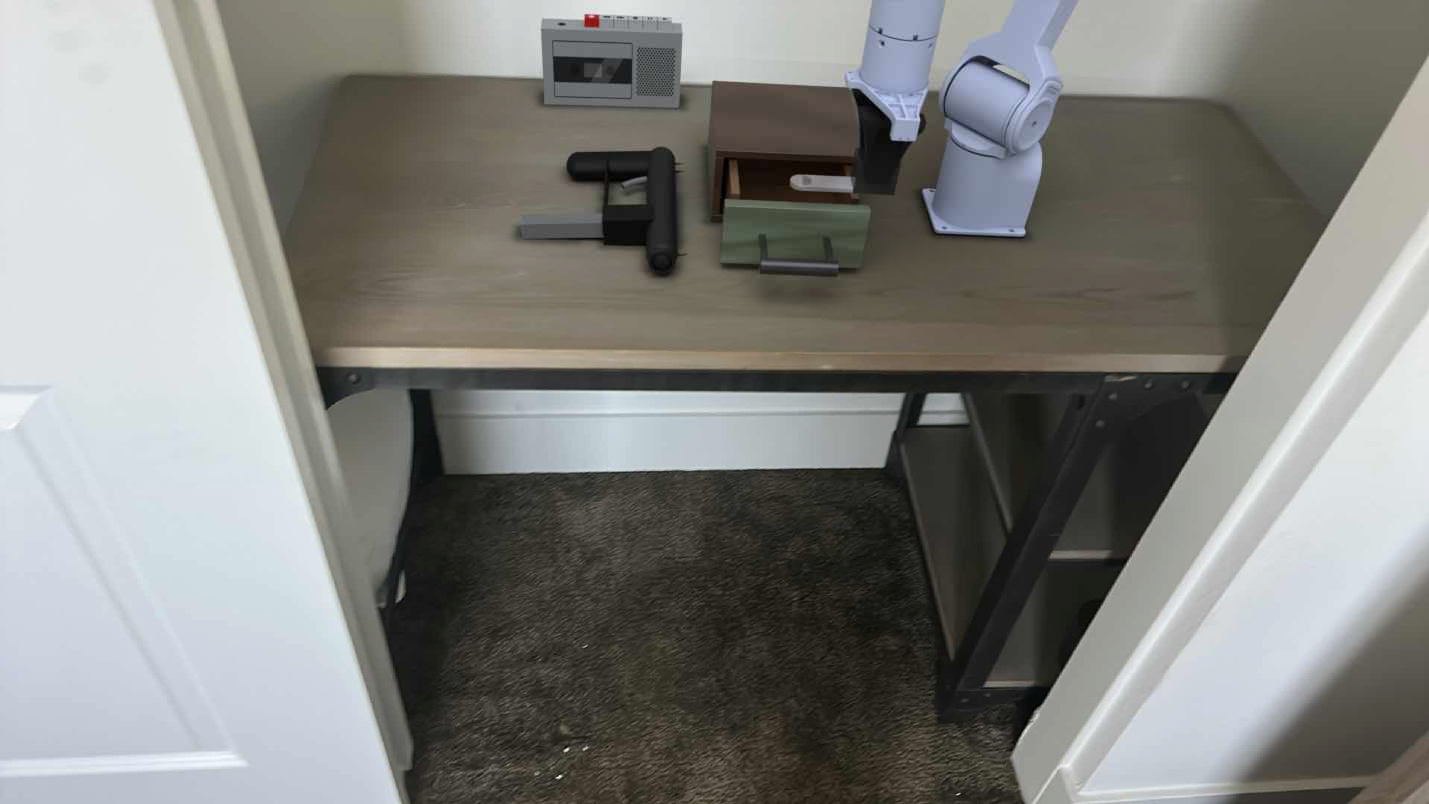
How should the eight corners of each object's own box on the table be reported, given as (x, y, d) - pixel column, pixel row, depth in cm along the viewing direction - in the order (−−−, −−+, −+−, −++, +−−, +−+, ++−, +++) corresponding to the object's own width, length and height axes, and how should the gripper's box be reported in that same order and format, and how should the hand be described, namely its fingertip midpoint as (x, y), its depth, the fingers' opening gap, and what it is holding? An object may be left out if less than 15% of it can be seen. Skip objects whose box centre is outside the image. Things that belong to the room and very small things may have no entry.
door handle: (513, 252, 94) (689, 249, 95) (532, 143, 109) (685, 141, 109) (517, 282, 96) (690, 279, 97) (535, 171, 111) (685, 168, 112)
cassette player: (544, 104, 120) (540, 19, 113) (545, 93, 122) (541, 9, 115) (679, 107, 122) (683, 24, 115) (677, 97, 123) (681, 14, 117)
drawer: (867, 303, 95) (879, 245, 90) (721, 297, 94) (727, 239, 90) (843, 192, 108) (852, 138, 104) (715, 187, 108) (720, 132, 103)
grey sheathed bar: (890, 182, 95) (897, 149, 93) (894, 195, 93) (901, 162, 91) (788, 178, 94) (793, 144, 92) (790, 191, 93) (795, 157, 90)
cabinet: (853, 227, 105) (867, 156, 100) (710, 221, 104) (716, 149, 99) (837, 154, 116) (848, 87, 110) (707, 148, 115) (712, 80, 110)
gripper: (843, -12, 89) (821, 132, 98) (867, 63, 78) (840, 216, 87) (924, -7, 89) (894, 135, 99) (959, 68, 79) (922, 220, 88)
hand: (874, 174), depth 93 cm, fingers closed on grey sheathed bar, 2 cm apart
